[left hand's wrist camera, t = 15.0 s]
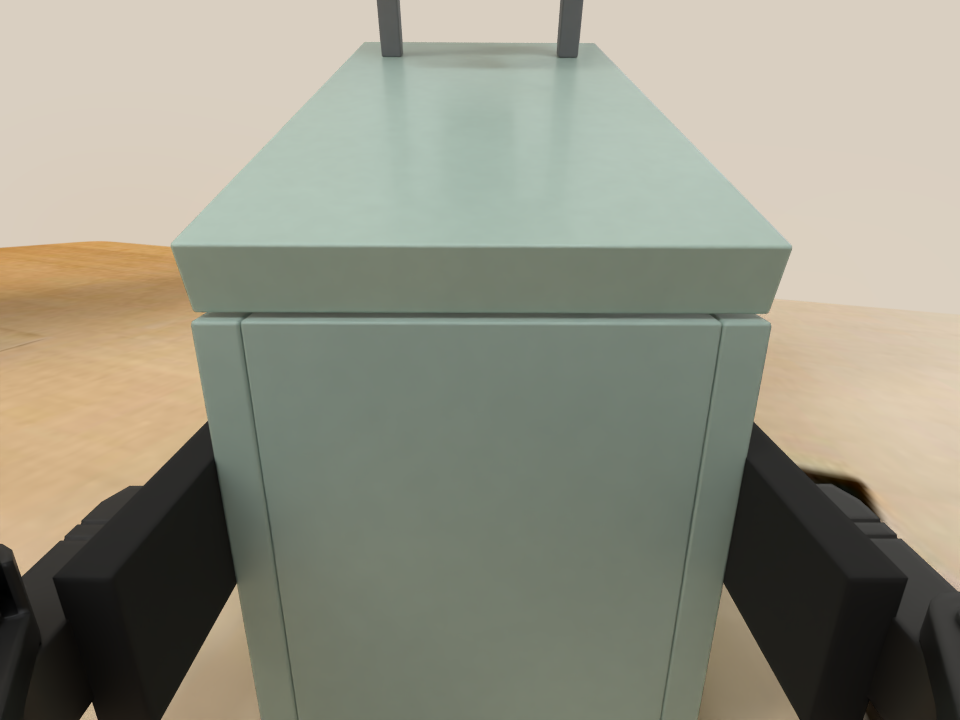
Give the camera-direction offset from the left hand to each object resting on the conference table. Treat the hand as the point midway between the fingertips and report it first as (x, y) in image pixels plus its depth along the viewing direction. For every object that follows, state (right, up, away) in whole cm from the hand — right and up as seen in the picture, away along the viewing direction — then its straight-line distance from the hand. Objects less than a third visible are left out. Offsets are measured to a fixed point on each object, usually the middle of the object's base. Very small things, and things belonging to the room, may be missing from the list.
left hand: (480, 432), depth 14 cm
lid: (0, +8, +3) cm, 8 cm away
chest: (0, -4, +7) cm, 8 cm away
